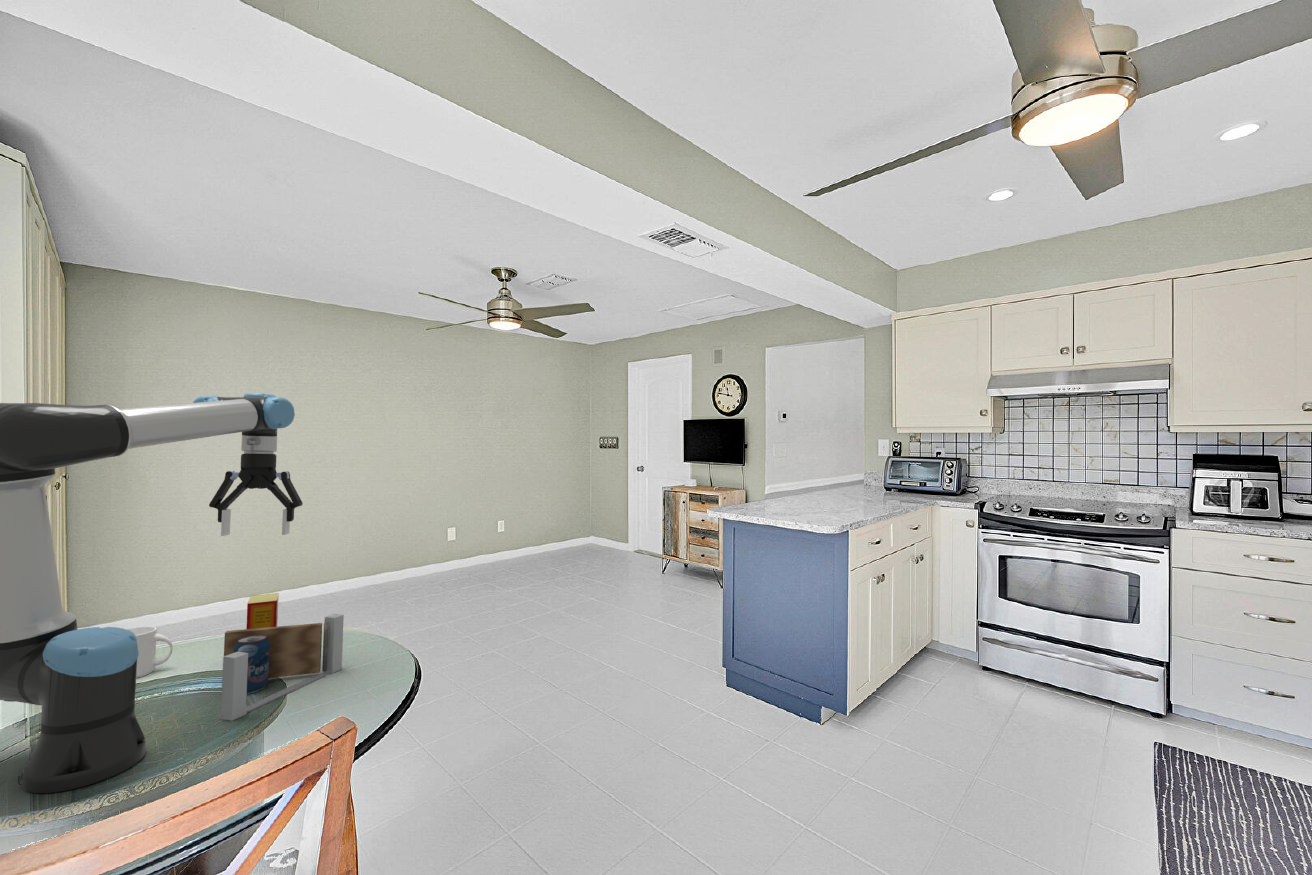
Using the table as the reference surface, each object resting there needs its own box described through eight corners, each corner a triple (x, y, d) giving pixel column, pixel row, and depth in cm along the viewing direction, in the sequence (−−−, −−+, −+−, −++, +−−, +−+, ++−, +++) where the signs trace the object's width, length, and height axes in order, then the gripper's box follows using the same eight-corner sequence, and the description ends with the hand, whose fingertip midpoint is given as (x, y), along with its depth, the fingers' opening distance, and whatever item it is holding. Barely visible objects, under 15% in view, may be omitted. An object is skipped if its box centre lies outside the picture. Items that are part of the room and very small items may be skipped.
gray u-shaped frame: (231, 720, 115) (234, 653, 115) (220, 718, 115) (223, 651, 116) (341, 668, 143) (343, 614, 143) (332, 667, 144) (334, 613, 144)
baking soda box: (248, 652, 154) (250, 594, 154) (276, 647, 157) (278, 591, 158) (245, 663, 146) (247, 602, 146) (274, 658, 149) (277, 599, 150)
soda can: (253, 695, 126) (255, 643, 127) (224, 694, 127) (226, 642, 127) (275, 683, 133) (277, 633, 134) (247, 682, 134) (249, 632, 134)
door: (222, 683, 131) (224, 632, 131) (227, 678, 134) (229, 629, 134) (326, 671, 139) (327, 624, 139) (328, 667, 142) (330, 620, 142)
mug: (166, 675, 137) (168, 632, 138) (101, 684, 132) (103, 638, 132) (176, 663, 145) (178, 622, 145) (115, 671, 139) (117, 628, 139)
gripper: (194, 452, 136) (191, 537, 136) (307, 453, 142) (304, 535, 142) (210, 452, 144) (207, 533, 143) (317, 453, 150) (314, 531, 149)
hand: (255, 534), depth 142 cm, fingers open, 13 cm apart
